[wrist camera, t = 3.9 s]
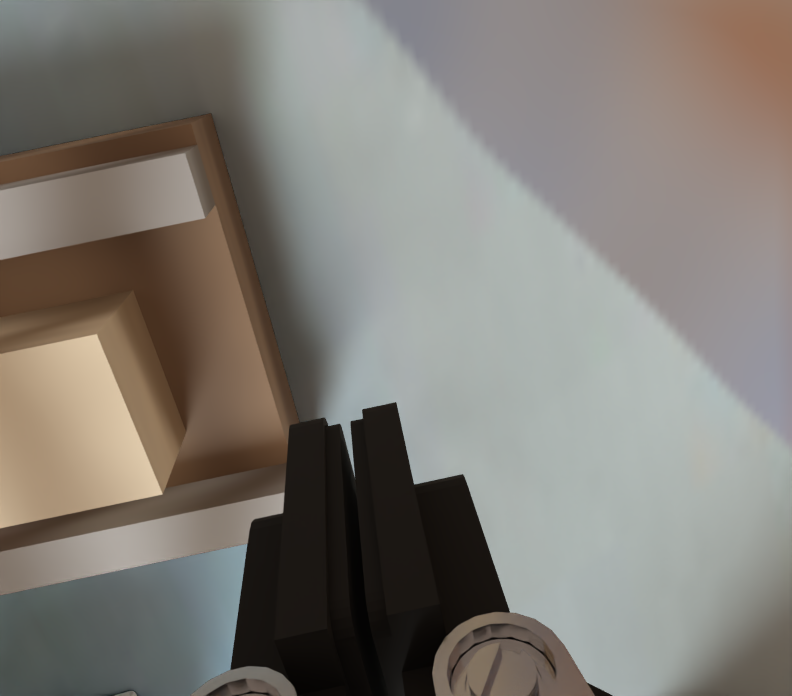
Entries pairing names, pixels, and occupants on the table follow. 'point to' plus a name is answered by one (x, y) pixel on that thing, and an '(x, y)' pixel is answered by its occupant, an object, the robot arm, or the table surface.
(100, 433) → the beige block
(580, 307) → the table surface
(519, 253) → the table surface
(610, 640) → the table surface
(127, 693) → the supplement box
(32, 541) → the slot block
